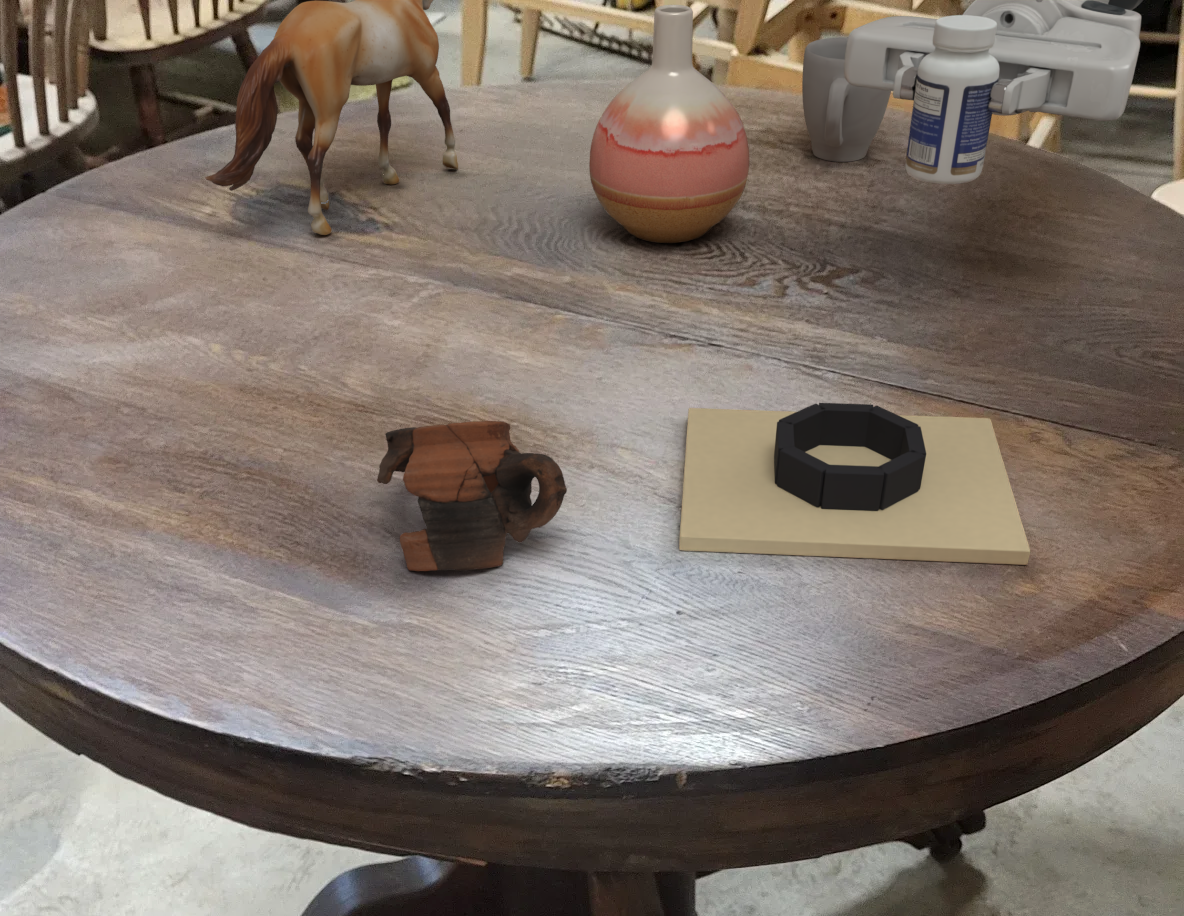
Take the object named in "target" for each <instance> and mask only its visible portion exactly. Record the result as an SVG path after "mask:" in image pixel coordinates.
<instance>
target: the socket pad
mask: <svg viewBox="0 0 1184 916" xmlns="http://www.w3.org/2000/svg"><path fill="white" fill-rule="evenodd" d="M686 424H687V426H686V436H685V437H686V440H685V451H684V452H685V453H684V469H683V482H682V497H681V511H680V523H679V524H680V526H679V542H678V543H679V544H678V549H679V551H685V552H686V551H687V552H688V551H689V552H708V553H709V552H711V553H712V552H713V553H734V554H735V553H736V554H758V555H759V554H761V555H783V556H804V557H805V556H806V557H807V556H808V557H827V558H830V557H831V558H854V559H876V560H879V559H880V560H898V561H899V560H900V561H920V562H921V561H924V562H945V563H946V562H947V563H948V562H949V563H952V562H953V563H970V564H971V563H972V564H992V565H993V564H995V565H996V564H998V565H1015V566H1016V565H1018V566H1027V565H1028V563H1029V560H1030V559H1029V558H1030V555H1031V548H1030V545H1029V541H1028V538H1027V535H1026V531H1025V529H1024V525H1023V522H1022V518H1021V515H1020V512H1019V509H1018V505H1017V502H1016V498H1015V495H1014V492H1013V488H1012V485H1011V482H1010V479H1009V476H1008V471H1007V469H1006V465H1005V462H1004V459H1003V456H1002V452H1001V449H1000V445H999V442H998V439H997V436H996V433H995V429H994V426H993V422H992V419H991V418H989V417H966V416H965V417H964V416H963V417H962V416H936V415H935V416H933V415H910V414H909V415H908V414H907V415H904V414H896V413H895V412H892V411H890V410H888V409H885V408H883V407H881V406H879V405H875V406H874V404H869V403H868V404H867V403H842V402H841V403H840V402H839V403H838V402H819V403H814V404H811V405H808V406H807V407H804V408H802V409H800V410H798V411H791V410H790V411H788V410H760V409H755V410H754V409H735V408H734V409H732V408H705V407H703V408H702V407H689V408H688V412H687V423H686Z"/></svg>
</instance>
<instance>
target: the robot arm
mask: <svg viewBox="0 0 1184 916" xmlns="http://www.w3.org/2000/svg"><path fill="white" fill-rule="evenodd" d="M1143 1H1144V0H974V1H972V2H971V4H970V5H969V6H967V8H966V9H965V10H964V12H963V14H962V15H972V16H981V17H986V18H990V19H992V20H994V21H995V22H996V23H997V28H996V35H995V42H994V45H993V47H992V48H991V49H989V55H991V56H993V57H994V58H995V59H996V60H997V61H998V63H999V68H1000V70H999V79H998V81H997V82H995V83H994V84H993V86H992V88H991V93H990V97H991V101H990V102H989V104H988V111H989V112H992V115H995V116H1001V117H1002V116H1003V117H1006V116H1007V117H1008V116H1016V115H1021V114H1023V113H1026V112H1029V113H1043V114H1050V115H1055V116H1056V115H1057V116H1065V117H1071V118H1079V119H1085V120H1091V121H1099V122H1110V121H1116V120H1118V119H1119V118H1120V117H1122V116H1123V114H1124V112H1125V110H1126V107H1127V103H1128V99H1129V96H1130V91H1131V87H1132V83H1133V81H1134V80H1133V79H1134V75H1135V70H1136V67H1137V62H1138V58H1139V54H1140V53H1139V52H1140V48H1141V39H1140V34H1141V27H1142V14H1140V13H1139V12H1137V11H1135V9H1136V8H1137V7H1138V6H1139V5H1141V3H1143ZM937 19H938V18H931V17H923V16H913V15H893V16H892V15H891V16H886V17H882V18H879V19H876V20H873V21H871V22H867V23H864V24H862V25H860V26H857V27H855V28H853V30H851V31H850V33H849V34H848V36H847V37H848V41H847V46H846V53H845V63H844V76H845V79H846V80H847V82H848V83H849V84H851V85H853V86H858V87H866V88H873V89H880V90H887V91H891V92H892V97H893V98H894V99H899V100H906V101H913V102H914V96H915V88H916V81H917V73H918V68H919V65H920V62H921V60H922V59H923V58H924V57H925V56H926V55H928V54H930V53H932V52H934V51H935V46H934V45H933V35H934V29H935V23H936V20H937Z"/></svg>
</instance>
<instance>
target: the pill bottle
mask: <svg viewBox="0 0 1184 916" xmlns="http://www.w3.org/2000/svg"><path fill="white" fill-rule="evenodd" d="M936 19H937V20H936V23H935V29H934V35H933V45H934V46H935V51H934V52H932V53H930V54H928V55H926V56H925V57H924V58H923V59H922V60H921V62H920V65H919V68H918V73H917V81H916V88H915V96H914V101H913V102H912V103H913V104H912V111H911V117H910V126H909V132H908V133H909V134H908V141H907V147H906V156H905V165H904V168H905V171H906V173H907V174H908V176H910V177H912V178H913V179H915V180H918V181H920V182H925V183H930V184H935V185H936V184H937V185H959V184H960V185H961V184H967V183H969V182H972V181H975V180H976V179H978V178H979V177H980V176H981V174H982V172H983V168H984V164H985V157H986V152H987V144H988V141H989V134H990V129H991V123H992V116H993V114H992V112H989V111H988V104H989V102H990V101H991V97H990V93H991V88H992V86H993V84H994V83H995V82H997V81H998V79H999V70H1000V68H999V63H998V61H997V60H996V59H995V58H994V57H993V56H991V55H989V49H991V48H992V47H993V45H994V42H995V35H996V28H997V23H996V22H995V21H994V20H992V19H990V18H986V17H981V16H972V15H963V14H957V15H956V14H955V15H946V16H942V17H939V18H936Z"/></svg>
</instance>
